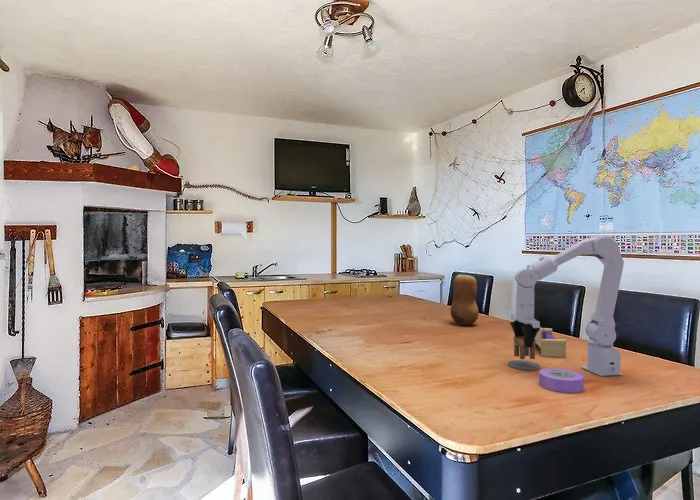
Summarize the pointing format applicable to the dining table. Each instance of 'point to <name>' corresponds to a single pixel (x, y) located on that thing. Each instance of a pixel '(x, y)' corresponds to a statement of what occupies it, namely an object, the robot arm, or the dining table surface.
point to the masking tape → (561, 380)
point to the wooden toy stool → (523, 348)
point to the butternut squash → (464, 300)
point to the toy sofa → (550, 343)
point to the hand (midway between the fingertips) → (524, 345)
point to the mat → (523, 365)
